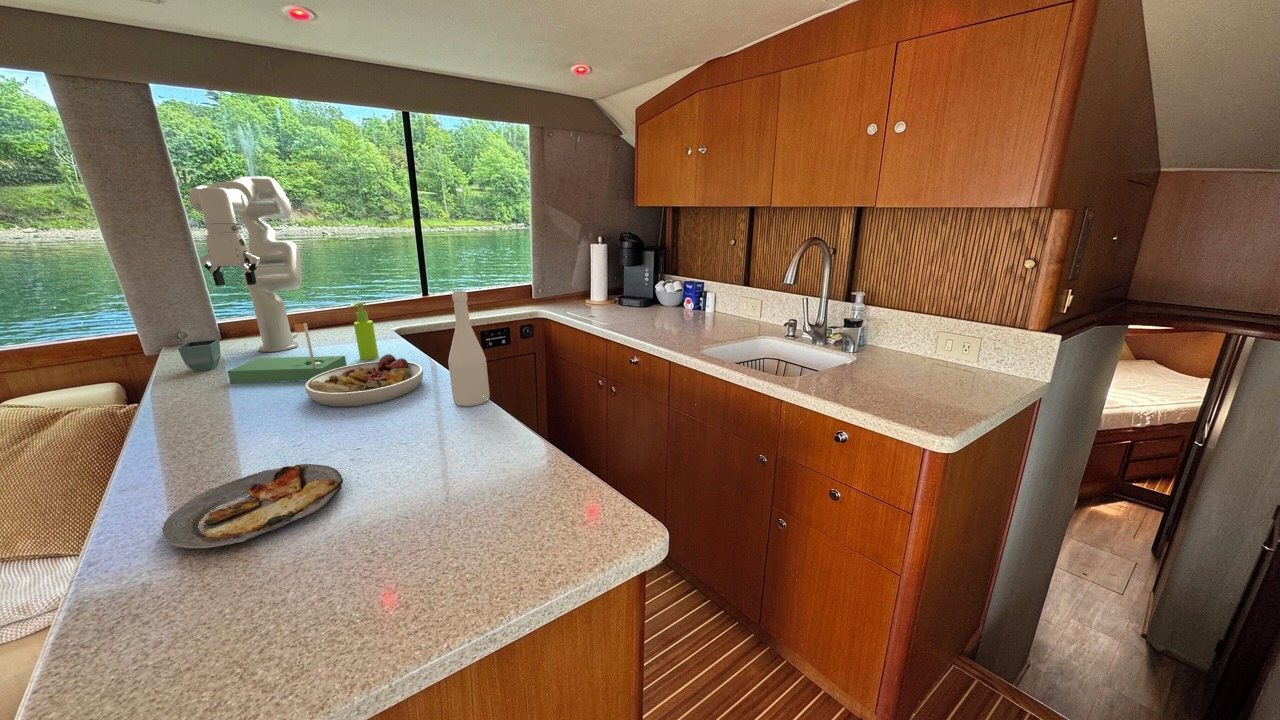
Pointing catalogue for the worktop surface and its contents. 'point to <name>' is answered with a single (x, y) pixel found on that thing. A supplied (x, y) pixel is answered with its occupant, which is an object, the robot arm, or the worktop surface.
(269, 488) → the food plate
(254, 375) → the putting mat
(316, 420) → the worktop surface
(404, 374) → the bowl
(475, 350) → the wine bottle
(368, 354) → the soap dispenser
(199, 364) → the flower pot
